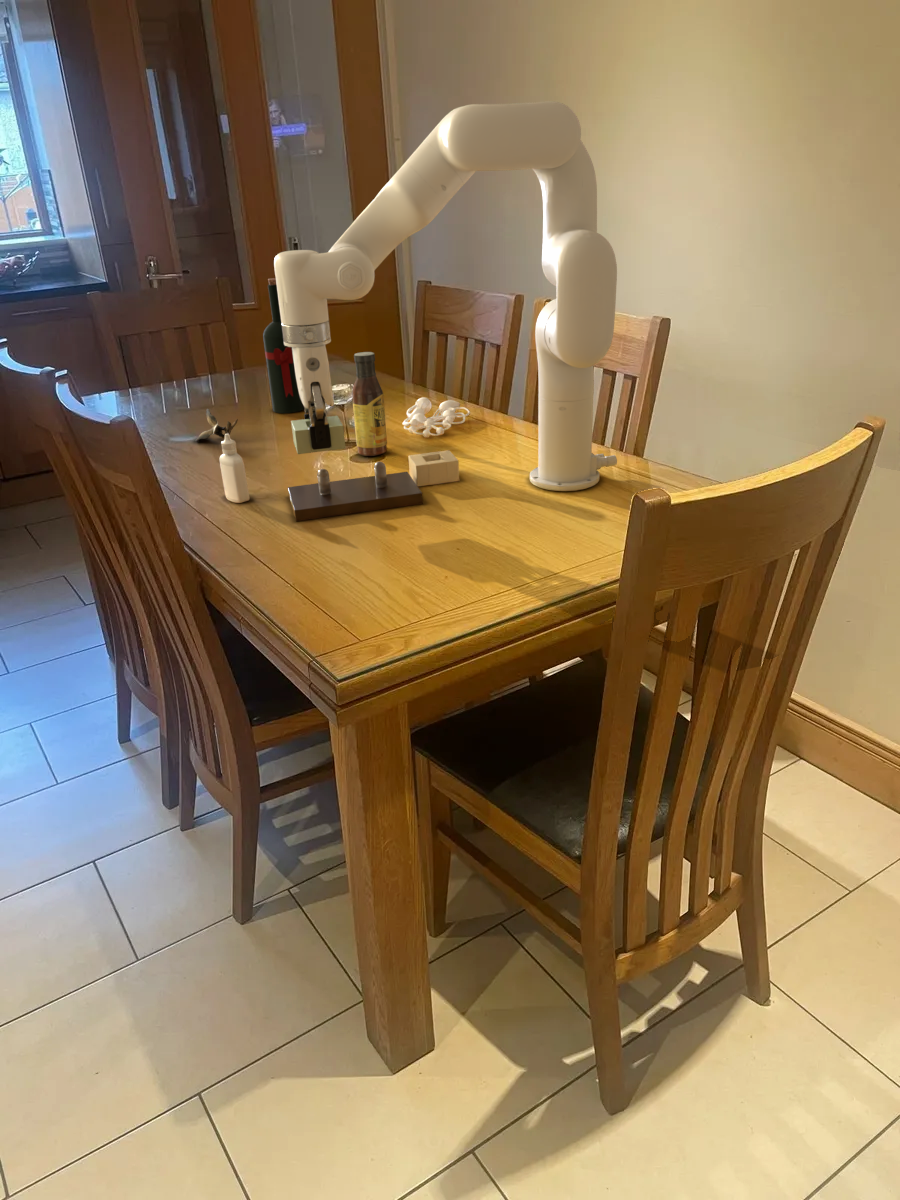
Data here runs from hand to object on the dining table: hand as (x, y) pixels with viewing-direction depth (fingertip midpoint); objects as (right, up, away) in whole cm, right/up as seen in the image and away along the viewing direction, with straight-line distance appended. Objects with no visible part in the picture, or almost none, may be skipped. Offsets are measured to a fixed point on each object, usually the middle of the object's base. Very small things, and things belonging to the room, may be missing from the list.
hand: (318, 441), depth 146 cm
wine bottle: (-17, +19, +63) cm, 68 cm away
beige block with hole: (+19, -4, +15) cm, 25 cm away
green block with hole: (0, -1, 0) cm, 1 cm away
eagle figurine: (-29, +8, +43) cm, 53 cm away
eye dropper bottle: (-16, -9, +10) cm, 21 cm away
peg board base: (+5, -9, +6) cm, 13 cm away
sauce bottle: (+6, +3, +31) cm, 31 cm away
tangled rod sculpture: (+19, +12, +46) cm, 51 cm away
